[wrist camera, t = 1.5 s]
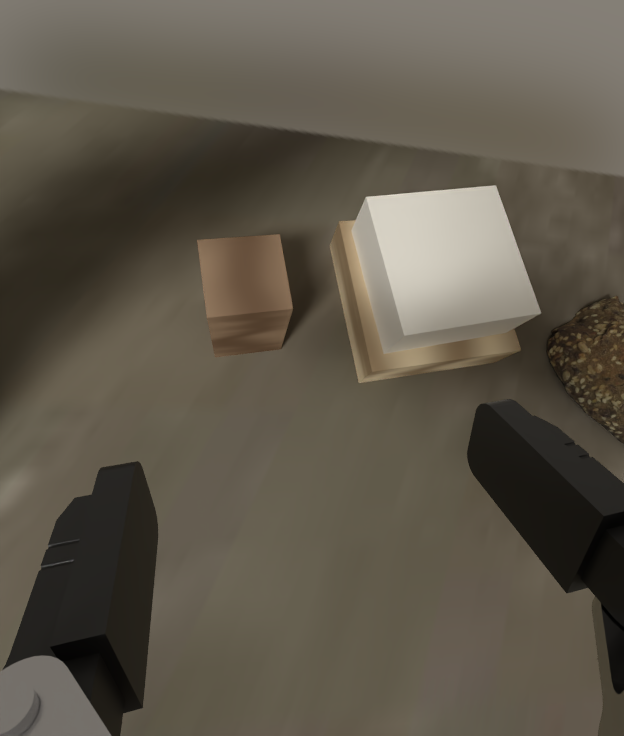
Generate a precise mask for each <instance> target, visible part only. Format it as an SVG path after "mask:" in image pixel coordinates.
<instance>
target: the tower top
mask: <svg viewBox="0 0 624 736" xmlns="http://www.w3.org/2000/svg"><path fill="white" fill-rule="evenodd" d="M351 231H352V235H353V239H354V242H355V246H356V250H357V254H358V258H359V262H360V265H361V269H362V273H363V277H364V281H365V284H366V288H367V292H368V296H369V300H370V303H371V307H372V311H373V315H374V319H375V322H376V326H377V330H378V334H379V338H380V342H381V345H382V349H383V353H384V354H387V353H392V352H398V351H404V350H410V349H416V348H422V347H428V346H433V345H439V344H445V343H451V342H457V341H462V340H468V339H474V338H480V337H486V336H492V335H497V334H503V333H507V332H509V331H510V330H512V329H514V328H516V327H518V326H519V325H521V324H523V323H525V322H527V321H528V320H530V319H532V318H534V317H535V316H537V315H539V314H541V311H540V308H539V305H538V303H537V300H536V297H535V294H534V291H533V289H532V286H531V283H530V280H529V277H528V274H527V272H526V269H525V266H524V263H523V260H522V258H521V255H520V252H519V249H518V246H517V244H516V241H515V238H514V235H513V232H512V230H511V227H510V224H509V221H508V218H507V215H506V213H505V210H504V207H503V204H502V201H501V199H500V196H499V193H498V190H497V187H496V185H494V186H483V187H472V188H461V189H450V190H439V191H427V192H416V193H405V194H394V195H383V196H371V197H366V198H365V200H364V203H363V205H362V207H361V210H360V212H359V214H358V216H357V219H356V221H355V223H354V226H353V228H352V230H351Z"/></svg>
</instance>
